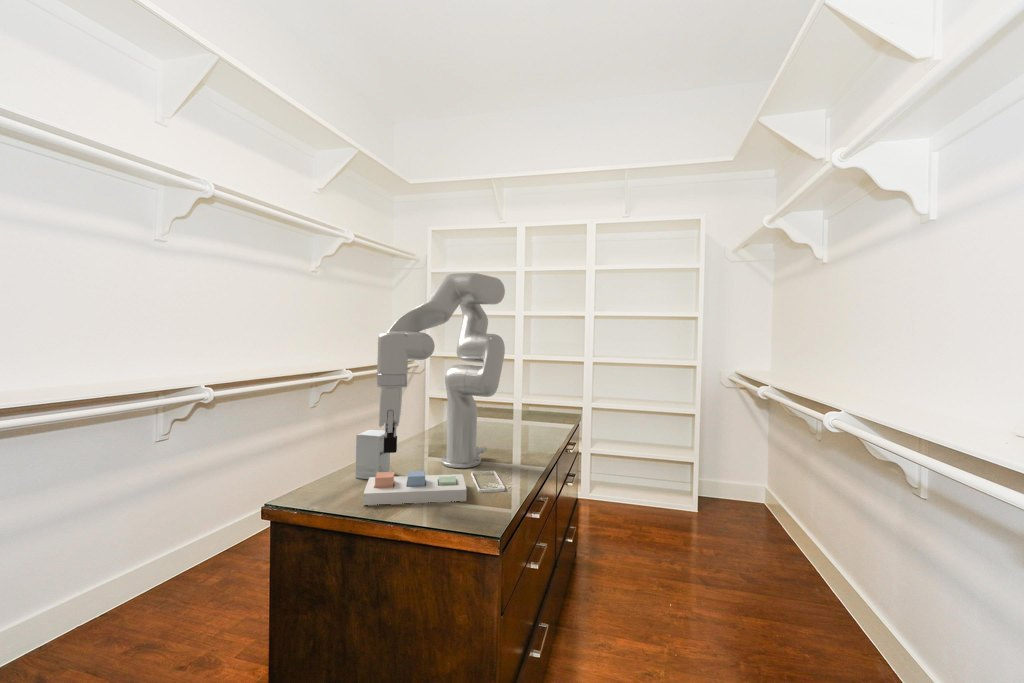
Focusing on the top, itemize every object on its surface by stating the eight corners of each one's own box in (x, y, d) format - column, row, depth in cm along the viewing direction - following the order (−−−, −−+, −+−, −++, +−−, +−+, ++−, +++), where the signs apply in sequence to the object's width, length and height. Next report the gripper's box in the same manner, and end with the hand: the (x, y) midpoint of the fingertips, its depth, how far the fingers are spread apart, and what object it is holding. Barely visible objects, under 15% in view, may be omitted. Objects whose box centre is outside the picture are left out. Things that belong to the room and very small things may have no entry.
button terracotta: (394, 483, 123) (394, 471, 122) (392, 489, 118) (393, 477, 118) (376, 484, 122) (376, 472, 122) (375, 490, 117) (375, 477, 117)
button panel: (462, 484, 130) (462, 474, 130) (466, 501, 118) (466, 489, 118) (369, 488, 125) (369, 477, 125) (363, 505, 113) (363, 493, 113)
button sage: (455, 487, 126) (455, 476, 125) (456, 493, 121) (456, 481, 121) (438, 488, 125) (438, 476, 125) (439, 494, 120) (439, 482, 120)
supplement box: (378, 480, 131) (379, 436, 131) (354, 478, 133) (355, 434, 132) (390, 472, 139) (391, 430, 138) (367, 470, 140) (368, 428, 140)
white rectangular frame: (505, 493, 126) (494, 475, 140) (505, 488, 126) (495, 470, 140) (478, 494, 124) (470, 476, 139) (478, 489, 124) (470, 471, 139)
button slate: (425, 482, 124) (425, 470, 124) (425, 488, 120) (425, 476, 120) (408, 483, 123) (408, 471, 123) (407, 489, 119) (407, 476, 119)
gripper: (379, 377, 125) (377, 445, 126) (374, 384, 111) (372, 460, 111) (407, 377, 127) (405, 444, 128) (406, 384, 112) (404, 459, 113)
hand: (390, 451), depth 119 cm, fingers closed
